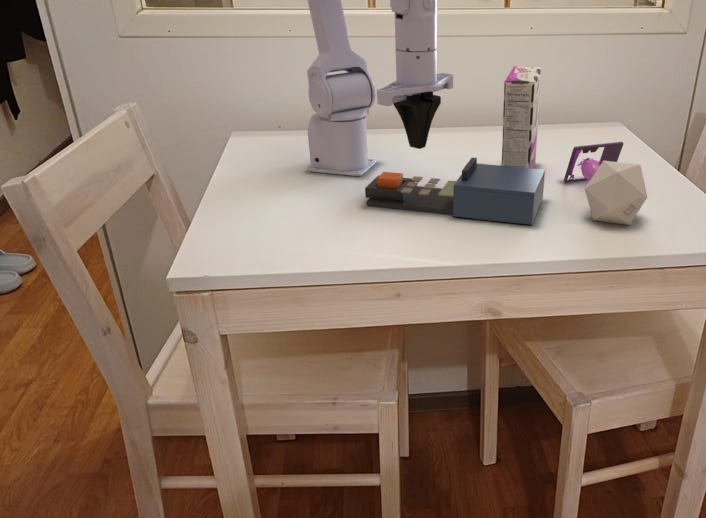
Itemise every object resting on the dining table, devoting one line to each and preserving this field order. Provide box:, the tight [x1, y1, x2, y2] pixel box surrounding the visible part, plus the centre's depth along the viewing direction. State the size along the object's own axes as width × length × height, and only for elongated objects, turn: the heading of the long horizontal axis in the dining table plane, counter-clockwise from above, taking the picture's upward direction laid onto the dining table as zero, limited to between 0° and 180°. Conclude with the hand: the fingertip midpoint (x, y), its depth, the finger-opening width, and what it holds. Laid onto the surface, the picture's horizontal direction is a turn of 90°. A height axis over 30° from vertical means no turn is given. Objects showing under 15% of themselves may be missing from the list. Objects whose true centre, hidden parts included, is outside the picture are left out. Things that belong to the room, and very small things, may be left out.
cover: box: [452, 157, 546, 226], centre depth 107 cm, size 12×10×6 cm
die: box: [584, 161, 648, 226], centre depth 104 cm, size 8×9×10 cm
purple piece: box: [563, 141, 625, 183], centre depth 117 cm, size 7×5×9 cm
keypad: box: [401, 176, 457, 197], centre depth 109 cm, size 8×7×1 cm
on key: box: [377, 171, 404, 188], centre depth 111 cm, size 3×3×2 cm
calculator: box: [364, 174, 453, 216], centre depth 110 cm, size 16×9×2 cm, turn 75°
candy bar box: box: [501, 65, 542, 169], centre depth 118 cm, size 11×5×16 cm, turn 168°
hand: (417, 146), depth 107 cm, fingers closed
